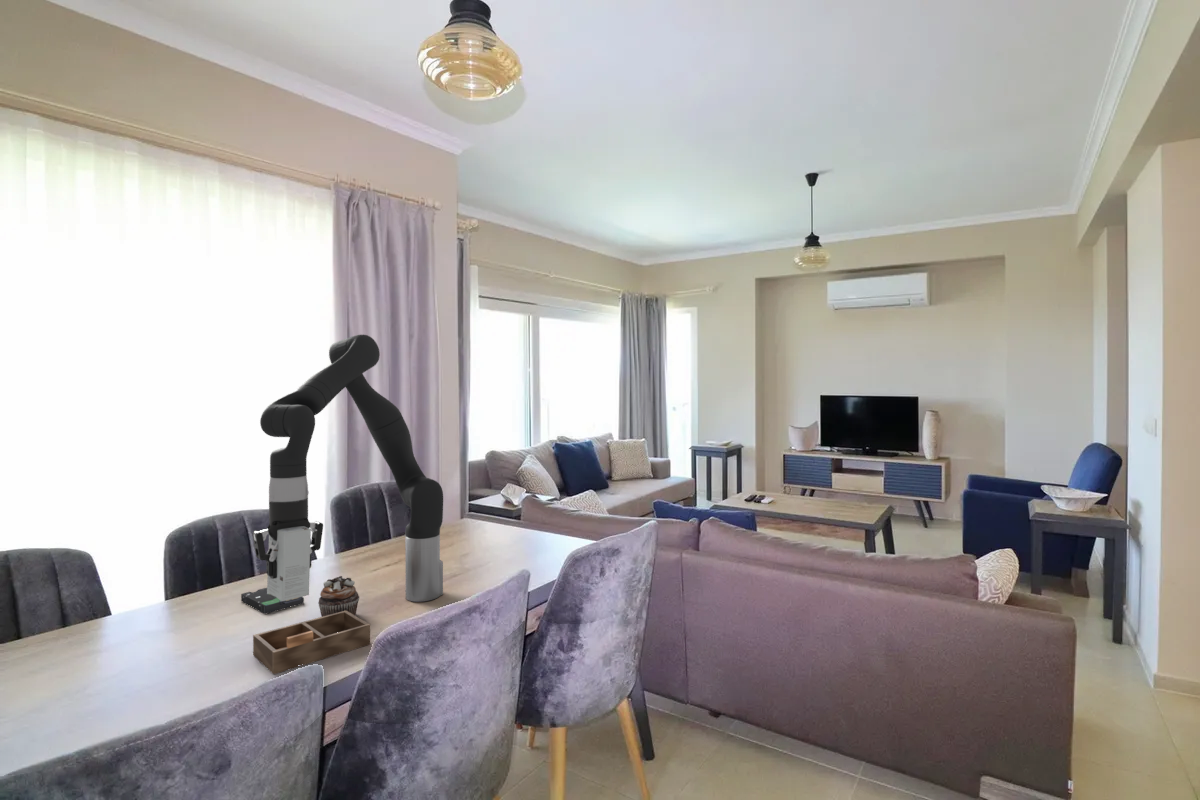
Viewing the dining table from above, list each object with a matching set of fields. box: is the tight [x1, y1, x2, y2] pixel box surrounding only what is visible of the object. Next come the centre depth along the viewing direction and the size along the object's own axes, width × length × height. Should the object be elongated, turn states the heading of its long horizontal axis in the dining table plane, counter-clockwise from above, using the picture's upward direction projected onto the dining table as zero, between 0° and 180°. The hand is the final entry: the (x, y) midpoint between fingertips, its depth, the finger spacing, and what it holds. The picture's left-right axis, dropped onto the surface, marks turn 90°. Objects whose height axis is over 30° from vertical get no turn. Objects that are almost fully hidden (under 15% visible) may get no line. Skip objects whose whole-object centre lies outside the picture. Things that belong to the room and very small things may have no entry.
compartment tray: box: [252, 611, 371, 675], centre depth 136 cm, size 20×13×6 cm, turn 136°
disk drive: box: [240, 587, 305, 615], centre depth 166 cm, size 10×3×15 cm
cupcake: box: [318, 575, 360, 617], centre depth 155 cm, size 10×10×10 cm
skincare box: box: [266, 526, 312, 601], centre depth 132 cm, size 8×6×15 cm
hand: (289, 574), depth 133 cm, fingers closed on skincare box, 6 cm apart
